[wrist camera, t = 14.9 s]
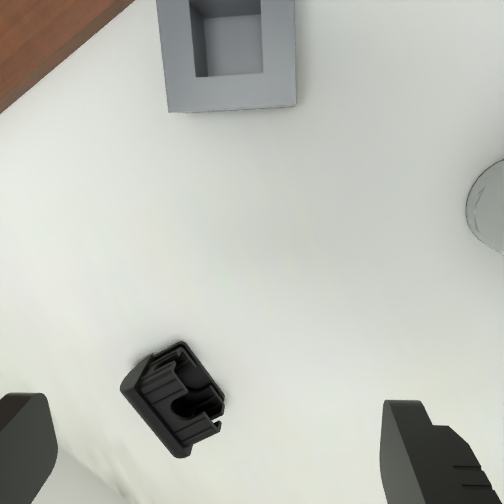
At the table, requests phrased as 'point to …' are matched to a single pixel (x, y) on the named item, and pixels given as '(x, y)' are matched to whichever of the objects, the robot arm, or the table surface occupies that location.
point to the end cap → (175, 398)
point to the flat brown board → (45, 38)
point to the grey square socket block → (227, 54)
